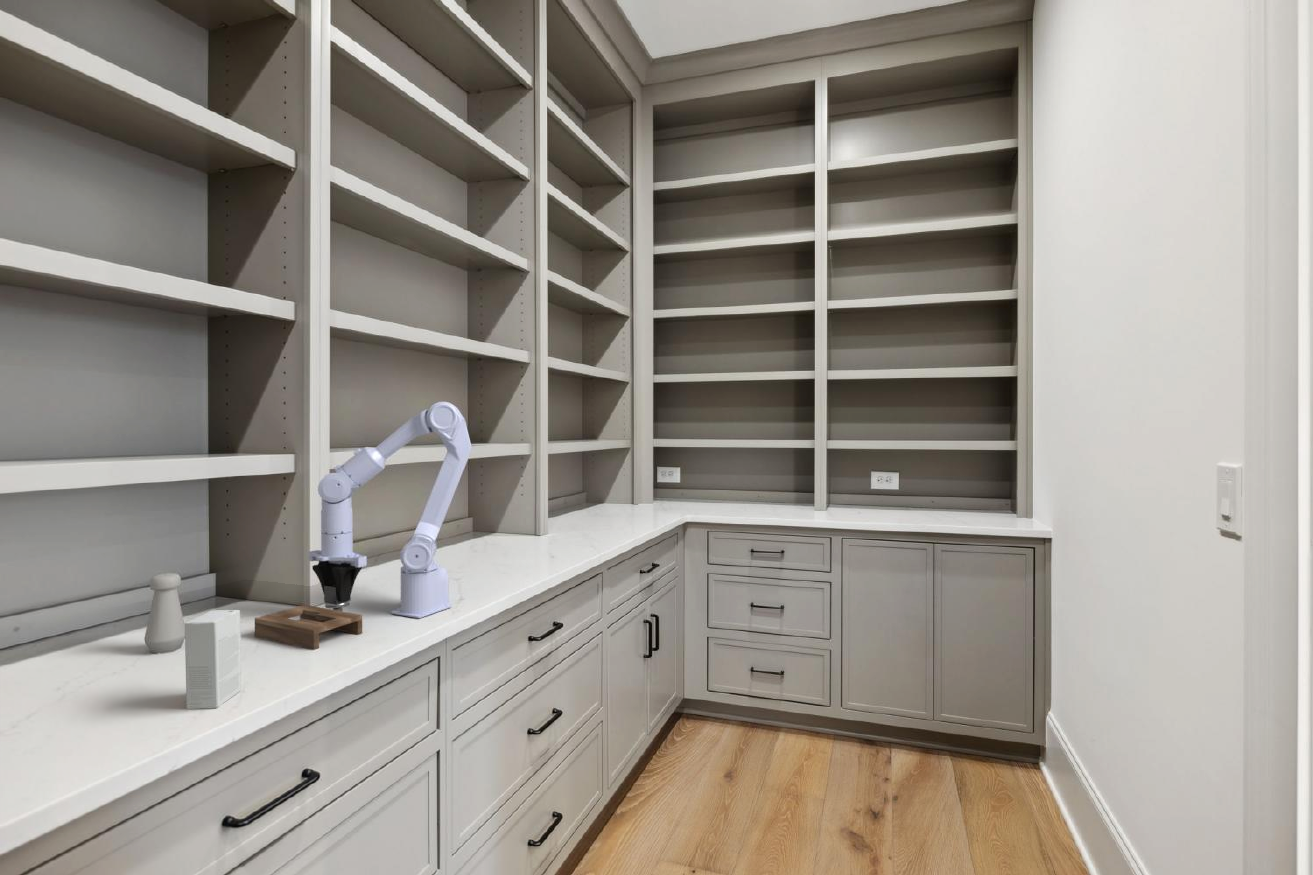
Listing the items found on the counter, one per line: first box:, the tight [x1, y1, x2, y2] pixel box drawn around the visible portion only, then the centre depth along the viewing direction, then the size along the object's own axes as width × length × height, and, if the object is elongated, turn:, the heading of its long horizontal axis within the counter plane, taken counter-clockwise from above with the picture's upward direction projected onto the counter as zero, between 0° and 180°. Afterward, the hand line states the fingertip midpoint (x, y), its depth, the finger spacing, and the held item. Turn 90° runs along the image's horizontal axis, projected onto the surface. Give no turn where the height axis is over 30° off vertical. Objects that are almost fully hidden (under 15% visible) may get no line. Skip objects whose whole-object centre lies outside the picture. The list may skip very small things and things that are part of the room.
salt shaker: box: [143, 572, 185, 654], centre depth 111 cm, size 6×6×13 cm
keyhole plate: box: [254, 604, 363, 650], centre depth 120 cm, size 10×16×3 cm, turn 65°
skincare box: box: [184, 609, 242, 710], centre depth 91 cm, size 6×4×12 cm
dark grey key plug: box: [323, 583, 351, 611], centre depth 131 cm, size 4×4×7 cm
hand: (337, 599), depth 131 cm, fingers closed on dark grey key plug, 3 cm apart
